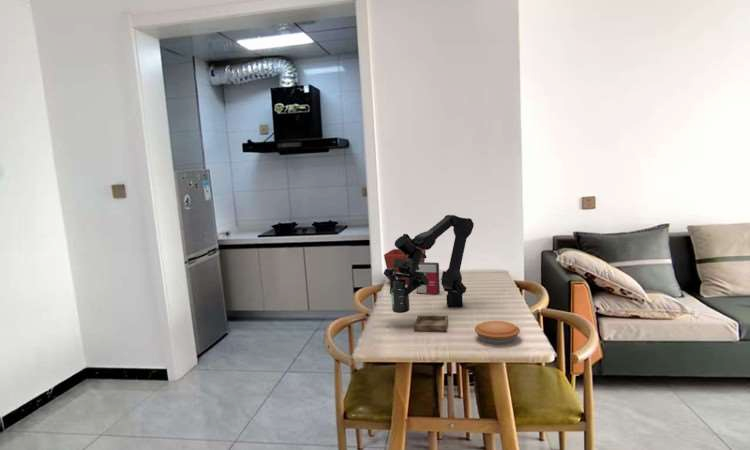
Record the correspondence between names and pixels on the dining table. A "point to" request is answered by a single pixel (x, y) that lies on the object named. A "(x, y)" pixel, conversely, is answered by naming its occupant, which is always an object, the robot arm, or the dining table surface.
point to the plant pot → (397, 255)
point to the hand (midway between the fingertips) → (397, 294)
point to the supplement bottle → (399, 297)
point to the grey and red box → (433, 275)
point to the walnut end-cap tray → (431, 323)
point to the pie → (497, 332)
